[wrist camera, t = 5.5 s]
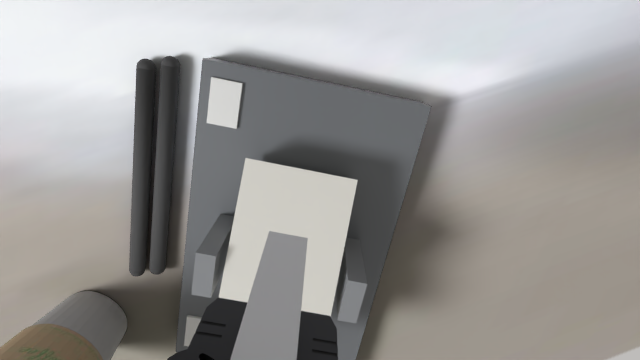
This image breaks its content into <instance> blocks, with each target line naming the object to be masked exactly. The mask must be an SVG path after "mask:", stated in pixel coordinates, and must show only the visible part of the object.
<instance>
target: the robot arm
mask: <svg viewBox="0 0 640 360" xmlns="http://www.w3.org/2000/svg"><path fill="white" fill-rule="evenodd" d="M307 241H308V238H305V237H299V236H294V235H288V234H283V233H278V232H272V231H269V233H268V237H267V240H266V243H265V247H264V250H263V253H262V256H261V260H260V263H259V266H258V270H257V273H256V276H255V279H254V283H253V286H252V289H251V293H250V296H249V299H248V303H247V302H241V301H236V300H230V299H224V298H217V299H216V300H215V301H213V302H212V303H211V304H210V305H209V306H207V307H206V309H205V312H204V314H203V316H202V318H201V321H200V323H199V325H198V327H197V329H196V332H195V334H194V336H193V338H192V340H191V342H190V345H189V347H188V349H186V350H183V351H179V352H177V353H176V354H174V355H173V356H171V357H169V358H168V359H167V360H338V345H337V328H336V326H335V324H334V322H333V321H332V319H331V317H330V316H328V315H322V314H317V313H311V312H305V311H301V306H302V295H303V284H304V273H305V262H306V251H307Z"/></svg>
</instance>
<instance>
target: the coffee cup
mask: <svg viewBox="0 0 640 360" xmlns="http://www.w3.org/2000/svg"><path fill="white" fill-rule="evenodd" d="M126 329H127V318H126V315H125V313H124V311H123V310H122V309H121V307H120V306H119V305H118V304H117V303H116V302H114V301H113V300H112V299H110V298H109V297H107V296H105V295H103V294H100V293H97V292H93V291H82V292H78V293H75V294H73V295H71V296H69V297H68V298H67V299H66V300H64V301H63V302H62V303H60V304H59V305H58V306H56V307H55V308H54V309H53V310H51V311H50V312H49V313H47V314H46V315H45V316H44V317H42V318H41V319H40V320H38V321H37V322H36V323H34V324H33V325H32V326H30V327H28V328H26V329H24V330H22V331H21V332H20V333H18V334H17V335H16V336H14V337H13V338H12V339H11V340H9V341H8V342H7V343H5V344H4V345H3V346H2V347H0V360H111V358H112V356H113V354H114V352H115V351H116V349H117V347H118V345H119V343H120V341H121V339H122V338H123V336H124V334H125V332H126Z"/></svg>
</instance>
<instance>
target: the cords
mask: <svg viewBox="0 0 640 360" xmlns="http://www.w3.org/2000/svg"><path fill="white" fill-rule="evenodd" d="M179 76H180V63H179V61H178V60H177V59H176V58H175V57H172V56H167V57H165V58H164V59H163V60H162V62H161V73H160V90H159V108H158V125H157V143H156V160H155V178H154V195H153V213H152V230H151V248H150V265H149V269H150V271H151V273H153V274H156V275H157V274H161V273H162V272H163V271H164V270H165V266H166V252H167V239H168V225H169V212H170V198H171V185H172V171H173V157H174V144H175V130H176V117H177V103H178V90H179ZM155 82H156V66H155V64H154V63H153V62H152V61H151V60H149V59H142V60H140V61H139V62H138V63H137V69H136V97H135V124H134V152H133V179H132V207H131V234H130V262H129V271H130V273H131V274H132V275H133V276H140V275H142V274H143V273H144V272H145V269H146V251H147V232H148V213H149V195H150V176H151V157H152V138H153V119H154V101H155Z"/></svg>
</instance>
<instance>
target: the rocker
mask: <svg viewBox="0 0 640 360" xmlns="http://www.w3.org/2000/svg"><path fill="white" fill-rule="evenodd" d="M357 181H358V180H355V179H350V178H345V177H340V176H335V175H330V174H325V173H320V172H315V171H310V170H305V169H299V168H294V167H289V166H284V165H279V164H274V163H269V162H264V161H259V160H254V159H249V158H245V163H244V169H243V174H242V179H241V184H240V189H239V194H238V200H237V205H236V210H235V215H234V220H233V225H232V231H231V236H230V241H229V246H228V251H227V256H226V262H225V267H224V272H223V277H222V282H221V287H220V293H219V298H224V299H230V300H236V301H241V302H247V303H248V299H249V296H250V293H251V289H252V286H253V283H254V279H255V276H256V273H257V270H258V266H259V263H260V260H261V256H262V253H263V250H264V247H265V243H266V240H267V237H268V233H269V231H272V232H278V233H283V234H288V235H294V236H299V237H305V238H308V241H307V251H306V262H305V273H304V284H303V295H302V306H301V311H305V312H311V313H317V314H322V315H328V316H330V317H331V313H332V307H333V302H334V297H335V292H336V287H337V282H338V277H339V272H340V267H341V262H342V257H343V252H344V247H345V242H346V237H347V232H348V226H349V221H350V216H351V211H352V206H353V201H354V196H355V191H356V186H357Z"/></svg>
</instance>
